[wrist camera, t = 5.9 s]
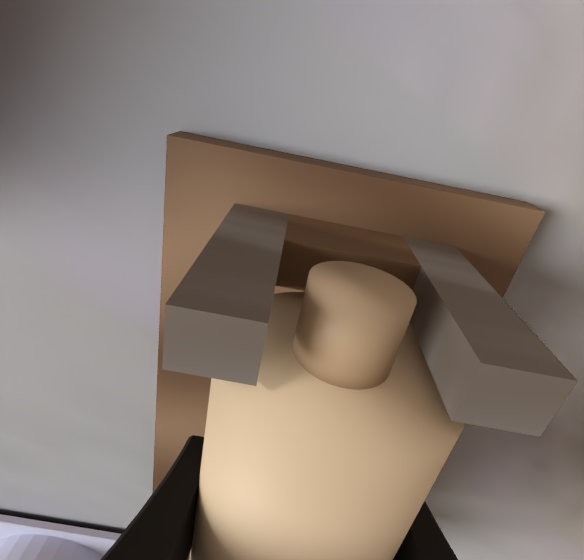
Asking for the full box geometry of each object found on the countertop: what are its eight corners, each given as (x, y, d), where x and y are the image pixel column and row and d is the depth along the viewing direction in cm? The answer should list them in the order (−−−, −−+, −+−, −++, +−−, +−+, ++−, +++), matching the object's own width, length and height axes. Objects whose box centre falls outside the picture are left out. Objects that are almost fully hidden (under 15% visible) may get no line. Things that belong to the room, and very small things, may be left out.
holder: (371, 531, 18) (399, 740, 12) (159, 496, 18) (84, 694, 12) (525, 202, 11) (763, 327, 5) (179, 131, 11) (19, 181, 5)
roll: (325, 556, 15) (337, 749, 11) (199, 541, 15) (157, 735, 10) (445, 255, 9) (577, 406, 5) (243, 218, 9) (193, 344, 5)
